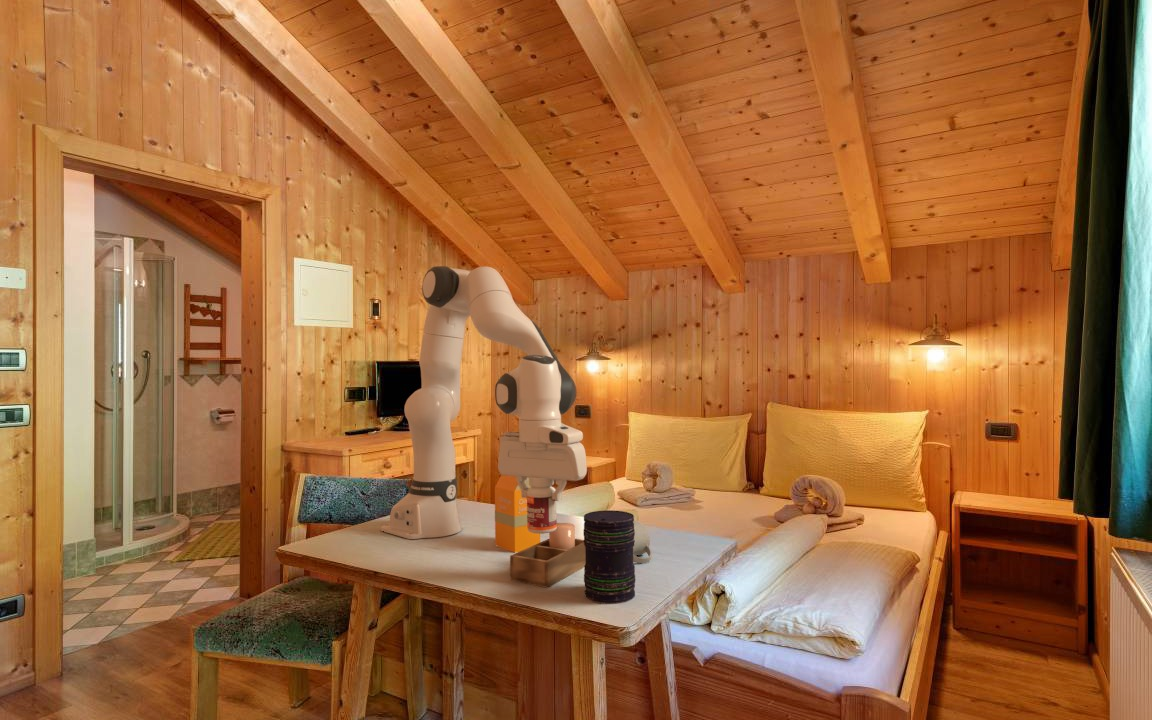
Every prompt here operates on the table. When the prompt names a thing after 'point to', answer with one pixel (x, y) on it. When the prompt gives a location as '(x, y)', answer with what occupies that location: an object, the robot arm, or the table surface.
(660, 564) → the table surface
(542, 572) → the caddy
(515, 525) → the orange juice
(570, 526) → the orange rounded cylinder
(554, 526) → the pill bottle
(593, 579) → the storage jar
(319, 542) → the table surface
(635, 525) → the ceramic mug
